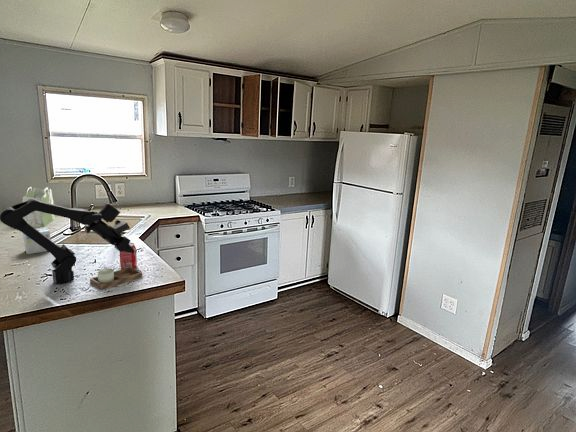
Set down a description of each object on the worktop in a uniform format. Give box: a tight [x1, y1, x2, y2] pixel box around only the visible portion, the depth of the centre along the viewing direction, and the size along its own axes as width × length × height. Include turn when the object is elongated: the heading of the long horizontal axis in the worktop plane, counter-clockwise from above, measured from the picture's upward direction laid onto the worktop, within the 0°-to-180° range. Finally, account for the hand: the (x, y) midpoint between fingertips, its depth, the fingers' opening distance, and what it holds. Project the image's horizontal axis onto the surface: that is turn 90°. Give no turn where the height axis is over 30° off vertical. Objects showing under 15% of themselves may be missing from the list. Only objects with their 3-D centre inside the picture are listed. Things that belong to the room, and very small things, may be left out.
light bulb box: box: [22, 227, 52, 255], centre depth 182 cm, size 11×7×11 cm, turn 134°
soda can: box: [119, 242, 138, 270], centre depth 164 cm, size 7×7×12 cm
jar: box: [97, 268, 115, 284], centre depth 147 cm, size 6×6×6 cm
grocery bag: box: [21, 186, 58, 228], centre depth 234 cm, size 32×14×23 cm, turn 20°
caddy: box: [89, 267, 143, 291], centre depth 151 cm, size 18×10×3 cm, turn 144°
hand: (131, 250), depth 165 cm, fingers closed on soda can, 7 cm apart
